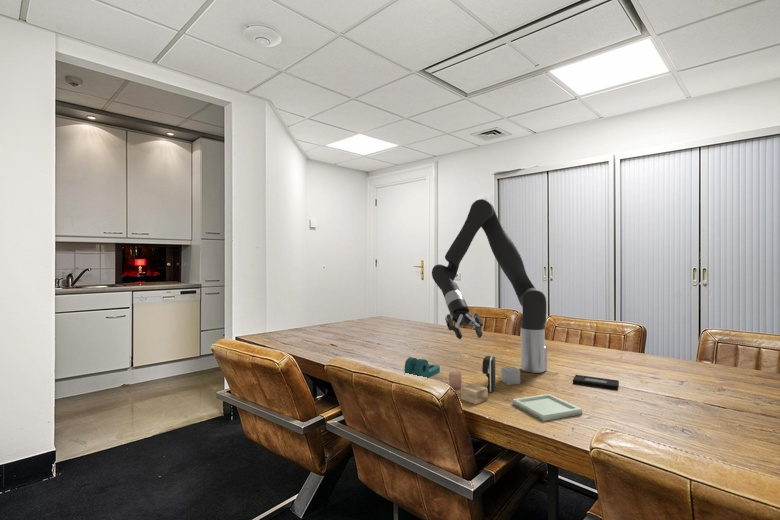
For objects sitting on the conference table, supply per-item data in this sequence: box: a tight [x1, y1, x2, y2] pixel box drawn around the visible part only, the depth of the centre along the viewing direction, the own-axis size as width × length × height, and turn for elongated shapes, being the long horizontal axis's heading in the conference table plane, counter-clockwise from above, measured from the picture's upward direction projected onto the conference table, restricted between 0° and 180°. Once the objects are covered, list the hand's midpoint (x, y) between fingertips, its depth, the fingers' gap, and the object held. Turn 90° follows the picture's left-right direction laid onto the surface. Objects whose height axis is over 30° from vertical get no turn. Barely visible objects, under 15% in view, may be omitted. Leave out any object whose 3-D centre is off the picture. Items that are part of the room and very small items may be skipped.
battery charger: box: [481, 355, 496, 393], centre depth 142 cm, size 7×4×11 cm, turn 158°
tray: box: [512, 393, 583, 422], centre depth 123 cm, size 14×14×2 cm
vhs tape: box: [572, 374, 620, 391], centre depth 147 cm, size 8×14×2 cm, turn 58°
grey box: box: [500, 366, 521, 386], centre depth 150 cm, size 5×5×5 cm
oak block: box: [460, 383, 489, 405], centre depth 132 cm, size 6×6×4 cm
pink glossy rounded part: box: [448, 371, 463, 390], centre depth 144 cm, size 4×4×5 cm
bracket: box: [404, 356, 441, 379], centre depth 160 cm, size 18×7×8 cm, turn 144°
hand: (470, 337), depth 153 cm, fingers open, 8 cm apart
